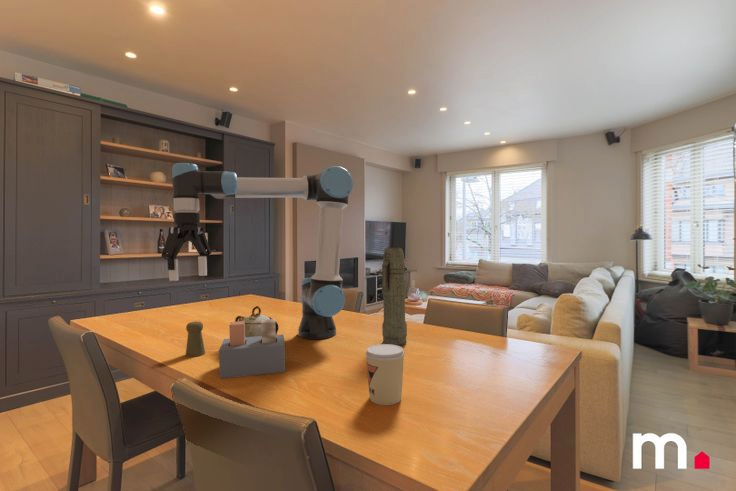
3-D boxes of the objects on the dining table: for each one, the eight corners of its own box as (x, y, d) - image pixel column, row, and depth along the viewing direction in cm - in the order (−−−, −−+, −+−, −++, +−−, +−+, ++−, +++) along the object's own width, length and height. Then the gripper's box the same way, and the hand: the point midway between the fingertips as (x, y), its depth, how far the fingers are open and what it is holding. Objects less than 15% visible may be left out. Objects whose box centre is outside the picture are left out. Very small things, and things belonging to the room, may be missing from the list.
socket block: (283, 358, 121) (283, 334, 121) (285, 371, 110) (284, 344, 110) (224, 364, 117) (224, 338, 117) (219, 378, 105) (218, 350, 105)
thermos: (375, 344, 135) (374, 247, 134) (391, 336, 145) (390, 246, 144) (397, 348, 131) (396, 248, 130) (412, 340, 141) (411, 246, 140)
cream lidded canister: (364, 391, 95) (364, 344, 95) (401, 389, 96) (400, 342, 96) (368, 407, 86) (367, 356, 86) (408, 405, 87) (407, 354, 87)
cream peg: (275, 344, 117) (275, 319, 116) (275, 348, 113) (275, 321, 113) (262, 345, 116) (261, 319, 115) (262, 349, 112) (261, 322, 112)
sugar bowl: (292, 345, 136) (291, 304, 135) (263, 358, 123) (262, 312, 122) (251, 339, 145) (250, 300, 144) (220, 350, 131) (219, 307, 131)
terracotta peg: (245, 347, 114) (244, 321, 114) (244, 351, 111) (243, 324, 110) (231, 348, 113) (230, 322, 113) (230, 352, 110) (229, 325, 109)
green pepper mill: (197, 357, 124) (196, 324, 124) (181, 356, 125) (180, 323, 125) (208, 351, 130) (208, 320, 130) (193, 351, 131) (192, 319, 131)
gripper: (201, 214, 134) (204, 273, 134) (145, 210, 110) (149, 283, 110) (220, 213, 132) (222, 273, 133) (167, 209, 108) (170, 283, 109)
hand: (189, 278), depth 122 cm, fingers open, 13 cm apart
